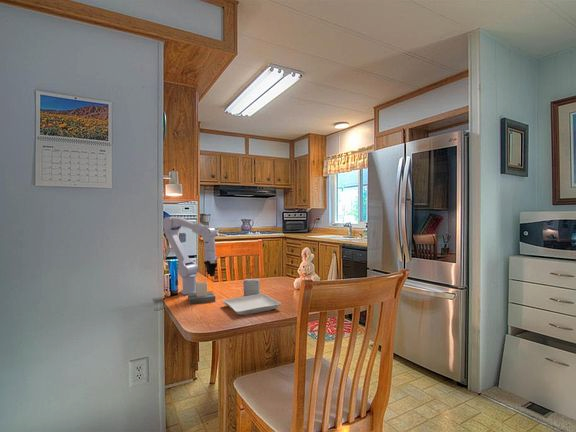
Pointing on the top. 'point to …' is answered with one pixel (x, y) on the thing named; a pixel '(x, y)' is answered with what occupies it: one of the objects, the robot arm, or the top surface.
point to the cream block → (201, 289)
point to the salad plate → (252, 304)
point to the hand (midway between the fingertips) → (211, 275)
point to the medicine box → (251, 287)
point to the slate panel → (201, 298)
